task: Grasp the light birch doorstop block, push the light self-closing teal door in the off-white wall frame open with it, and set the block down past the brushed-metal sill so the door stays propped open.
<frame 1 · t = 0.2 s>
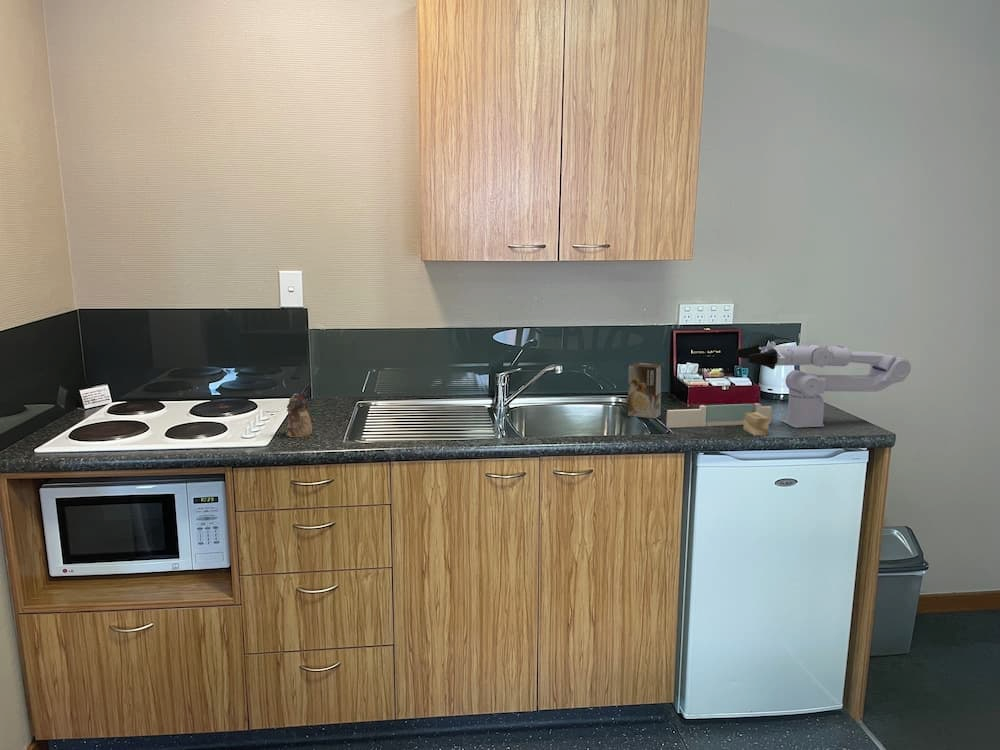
hand: (742, 355, 224), 21 cm above the worktop, tool horizontal, fingers open, 7 cm apart
doorstop: (755, 432, 223), on the worktop
door: (730, 412, 230), point 4 cm above the worktop, hinge at 0.0°
figurine: (299, 435, 222), on the worktop
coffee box: (643, 416, 242), on the worktop
door frame: (731, 424, 231), on the worktop
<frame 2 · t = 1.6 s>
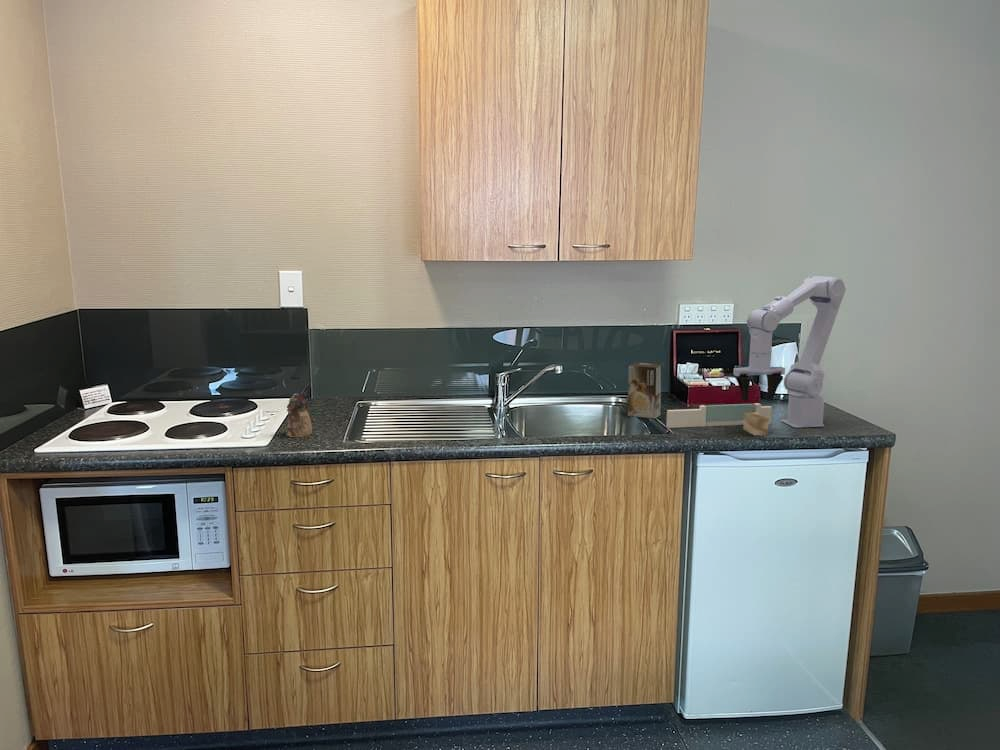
hand: (757, 399, 221), 9 cm above the worktop, tool pointing down, fingers open, 7 cm apart
nothing on the worktop moved.
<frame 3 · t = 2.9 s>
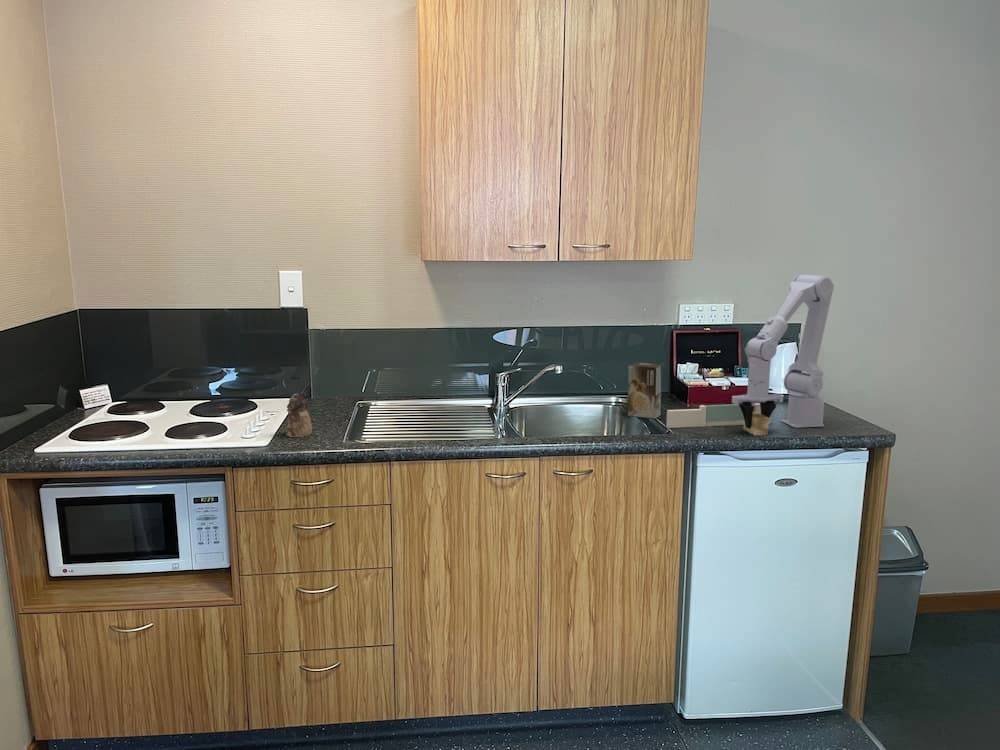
hand: (755, 427, 222), 1 cm above the worktop, tool pointing down, fingers closed on doorstop, 4 cm apart
doorstop: (755, 432, 223), on the worktop, touching gripper
everything else where it was.
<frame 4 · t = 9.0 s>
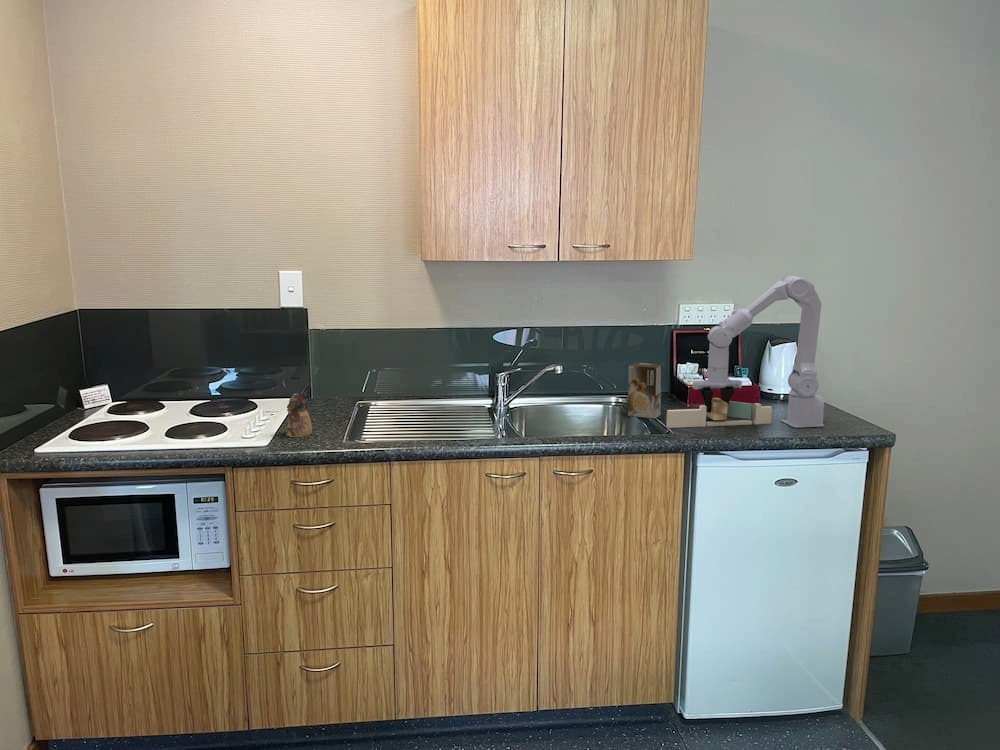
hand: (715, 411, 232), 3 cm above the worktop, tool pointing down, fingers closed on doorstop, 4 cm apart
doorstop: (715, 417, 233), point 2 cm above the worktop, touching gripper
door: (729, 408, 235), point 4 cm above the worktop, hinge at 38.5°
everything else where it was.
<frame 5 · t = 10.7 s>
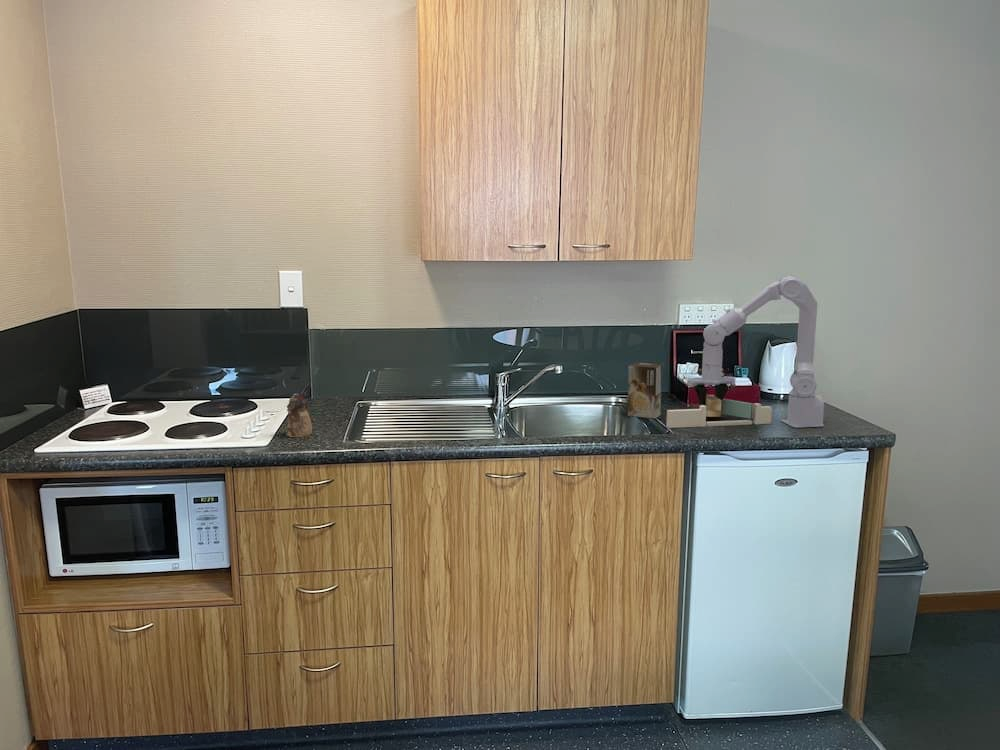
hand: (710, 408, 237), 3 cm above the worktop, tool pointing down, fingers closed on doorstop, 4 cm apart
doorstop: (709, 413, 237), point 2 cm above the worktop, touching door, gripper
door: (731, 407, 236), point 4 cm above the worktop, hinge at 53.1°, touching doorstop
everything else where it was.
when the fingers open (3 cm above the worktop, at t = 11.9 s): doorstop drops 2 cm, on the worktop.
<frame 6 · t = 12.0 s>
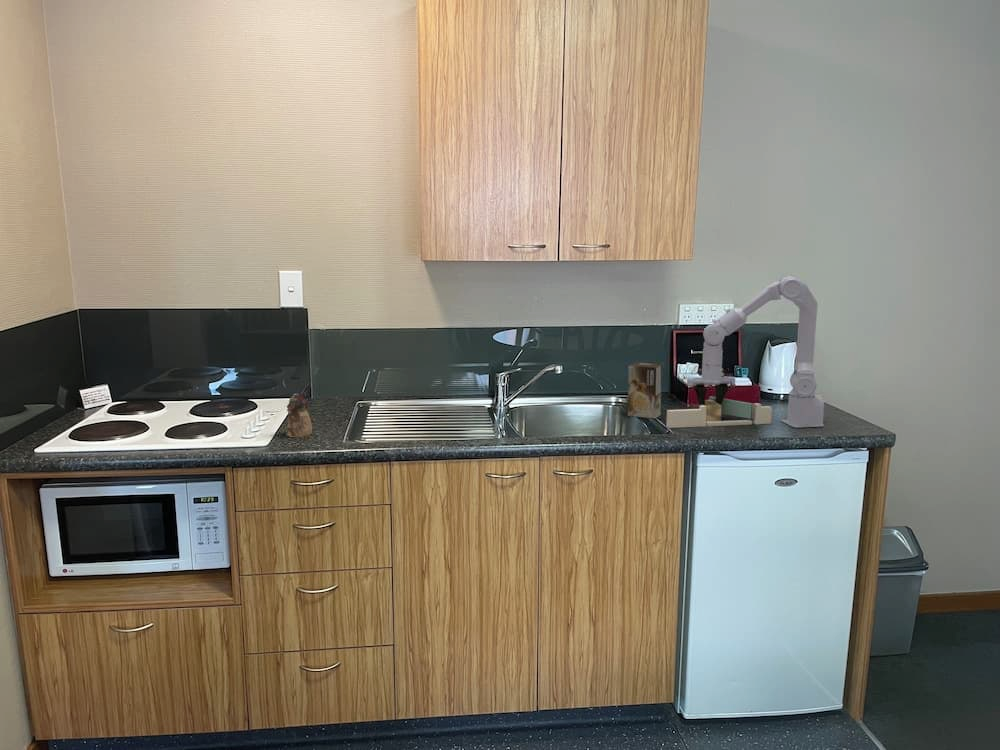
hand: (709, 408, 237), 3 cm above the worktop, tool pointing down, fingers open, 4 cm apart
doorstop: (709, 418, 237), on the worktop
door: (731, 407, 236), point 4 cm above the worktop, hinge at 53.5°, touching gripper
everything else where it was.
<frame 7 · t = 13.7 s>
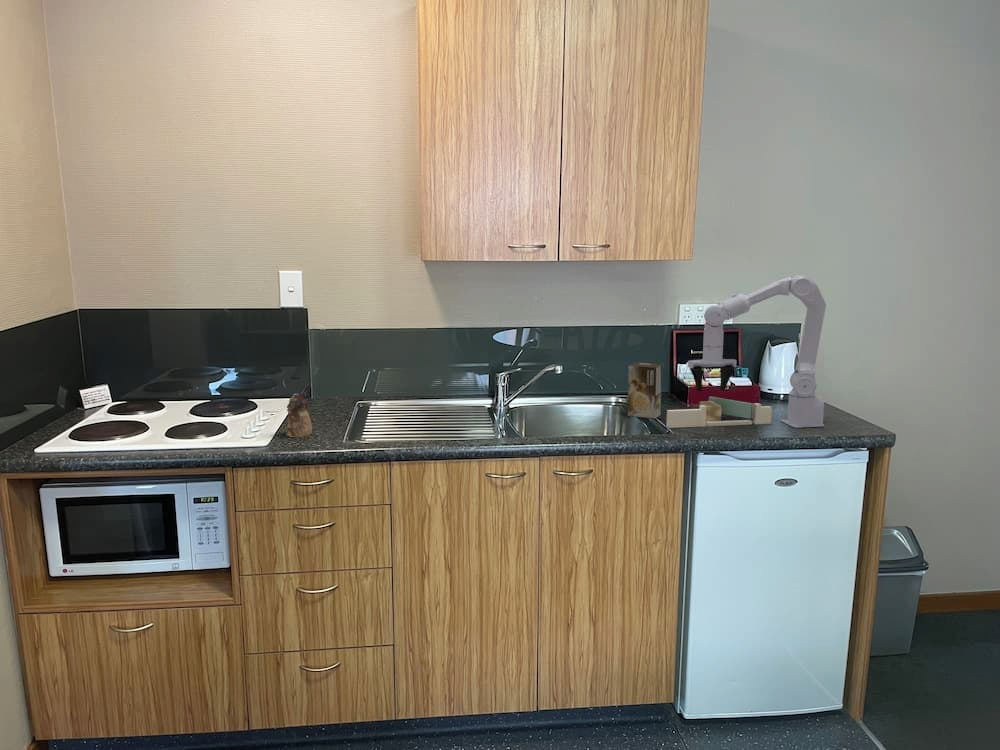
hand: (710, 390, 235), 9 cm above the worktop, tool pointing down, fingers open, 7 cm apart
doorstop: (709, 419, 237), on the worktop, touching door
door: (731, 407, 236), point 4 cm above the worktop, hinge at 52.8°, touching doorstop
everything else where it was.
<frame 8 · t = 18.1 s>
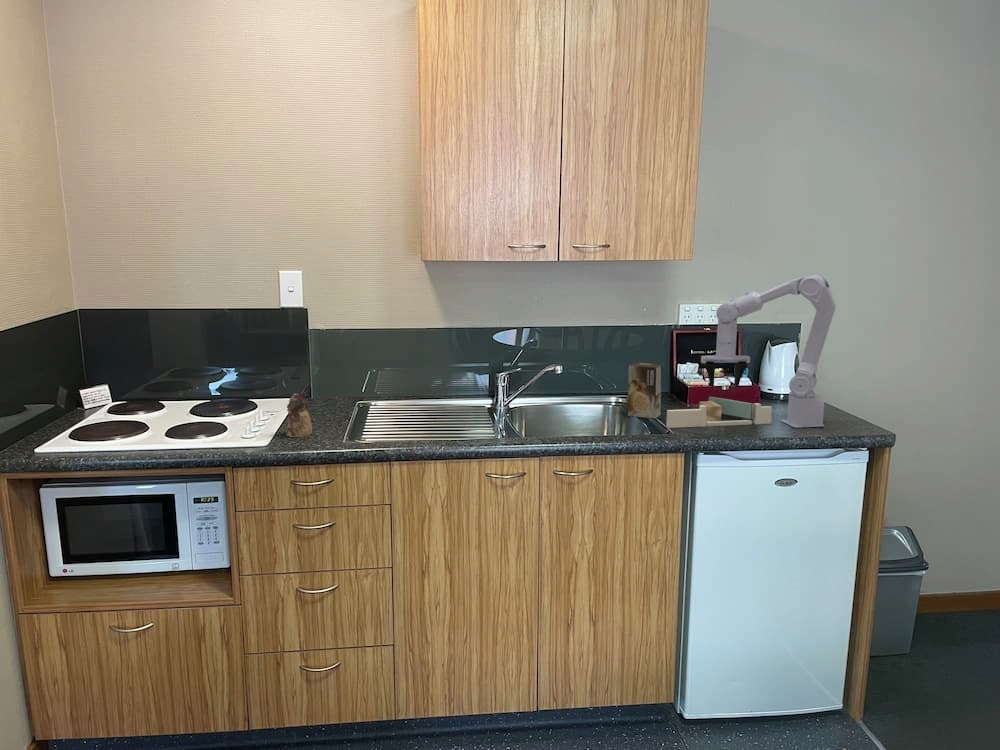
hand: (724, 385, 240), 9 cm above the worktop, tool pointing down, fingers open, 7 cm apart
nothing on the worktop moved.
at the end: door at +53° (first picture: +0°); doorstop inside the target area (1.0 cm from its centre), on the worktop; the gripper is holding nothing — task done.
